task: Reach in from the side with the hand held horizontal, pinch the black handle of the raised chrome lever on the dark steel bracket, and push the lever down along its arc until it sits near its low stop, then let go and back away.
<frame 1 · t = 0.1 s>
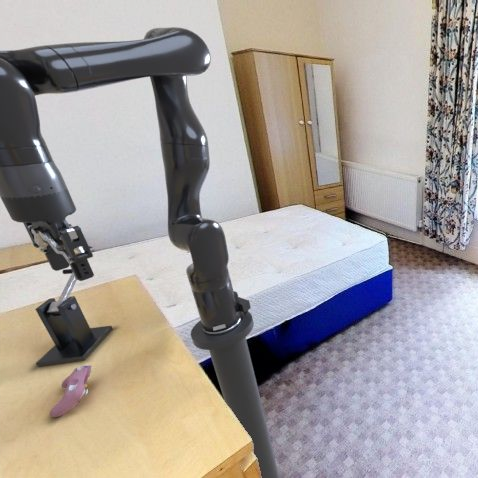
hand: (73, 273, 60), 29 cm above the table, tool pointing down, fingers open, 8 cm apart
bracket: (78, 346, 82), on the table
pink curved piece: (78, 397, 69), on the table
lever: (67, 290, 81), point 14 cm above the table, hinge at 28.0°
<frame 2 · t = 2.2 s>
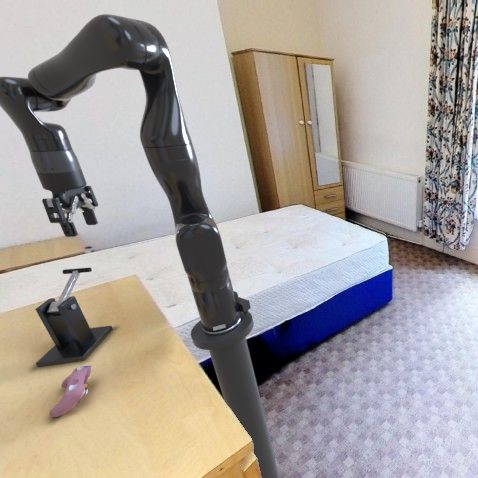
hand: (82, 230, 84), 27 cm above the table, tool pointing down, fingers open, 8 cm apart
nothing on the table moved.
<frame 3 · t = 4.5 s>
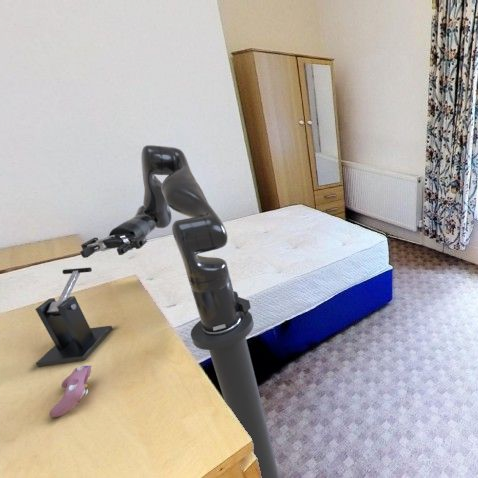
hand: (101, 253, 93), 17 cm above the table, tool horizontal, fingers open, 8 cm apart
nothing on the table moved.
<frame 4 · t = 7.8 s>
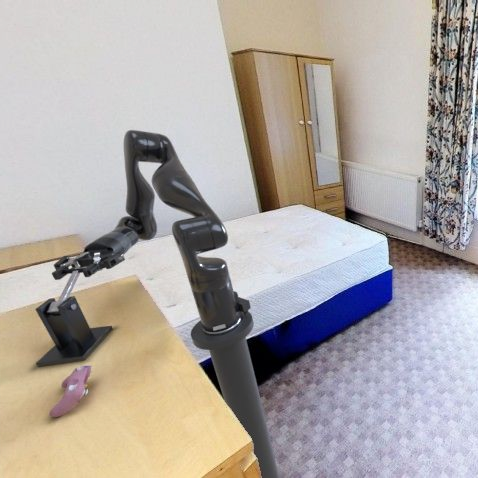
hand: (70, 275, 82), 17 cm above the table, tool horizontal, fingers closed on lever, 5 cm apart
lever: (67, 290, 81), point 14 cm above the table, hinge at 28.0°, touching gripper
everything else where it was.
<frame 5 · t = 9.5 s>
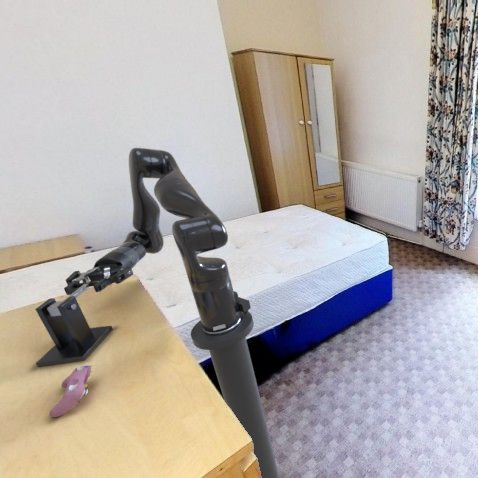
hand: (82, 290, 85), 12 cm above the table, tool horizontal, fingers closed on lever, 5 cm apart
lever: (73, 296, 82), point 12 cm above the table, hinge at 0.5°, touching gripper
everything else where it was.
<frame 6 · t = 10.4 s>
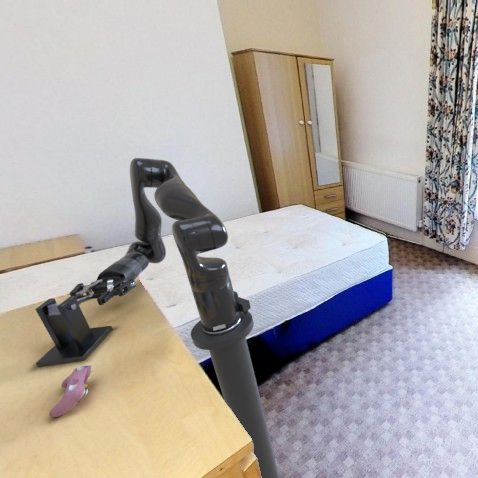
hand: (85, 303, 86), 8 cm above the table, tool horizontal, fingers closed on lever, 5 cm apart
lever: (75, 302, 83), point 10 cm above the table, hinge at -18.4°, touching gripper
everything else where it was.
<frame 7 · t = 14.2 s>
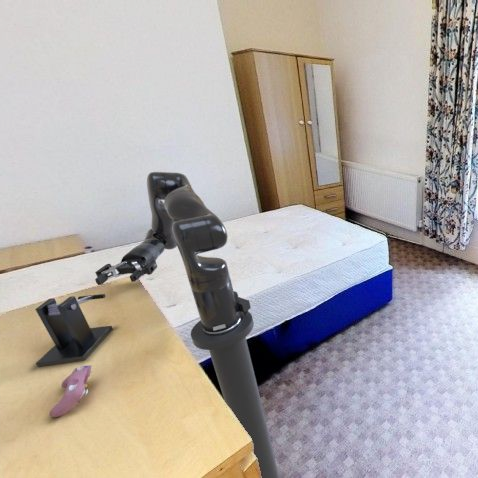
hand: (115, 280, 98), 7 cm above the table, tool horizontal, fingers open, 8 cm apart
lever: (75, 302, 83), point 10 cm above the table, hinge at -19.4°
everything else where it was.
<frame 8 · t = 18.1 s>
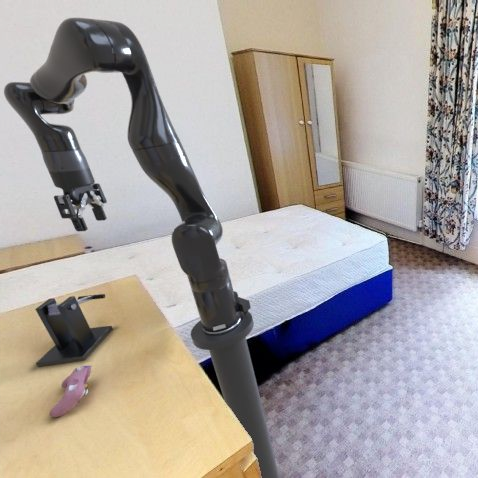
hand: (92, 225, 90), 26 cm above the table, tool pointing down, fingers open, 8 cm apart
nothing on the table moved.
at the end: lever at -19° (first picture: +28°); the gripper is holding nothing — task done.
